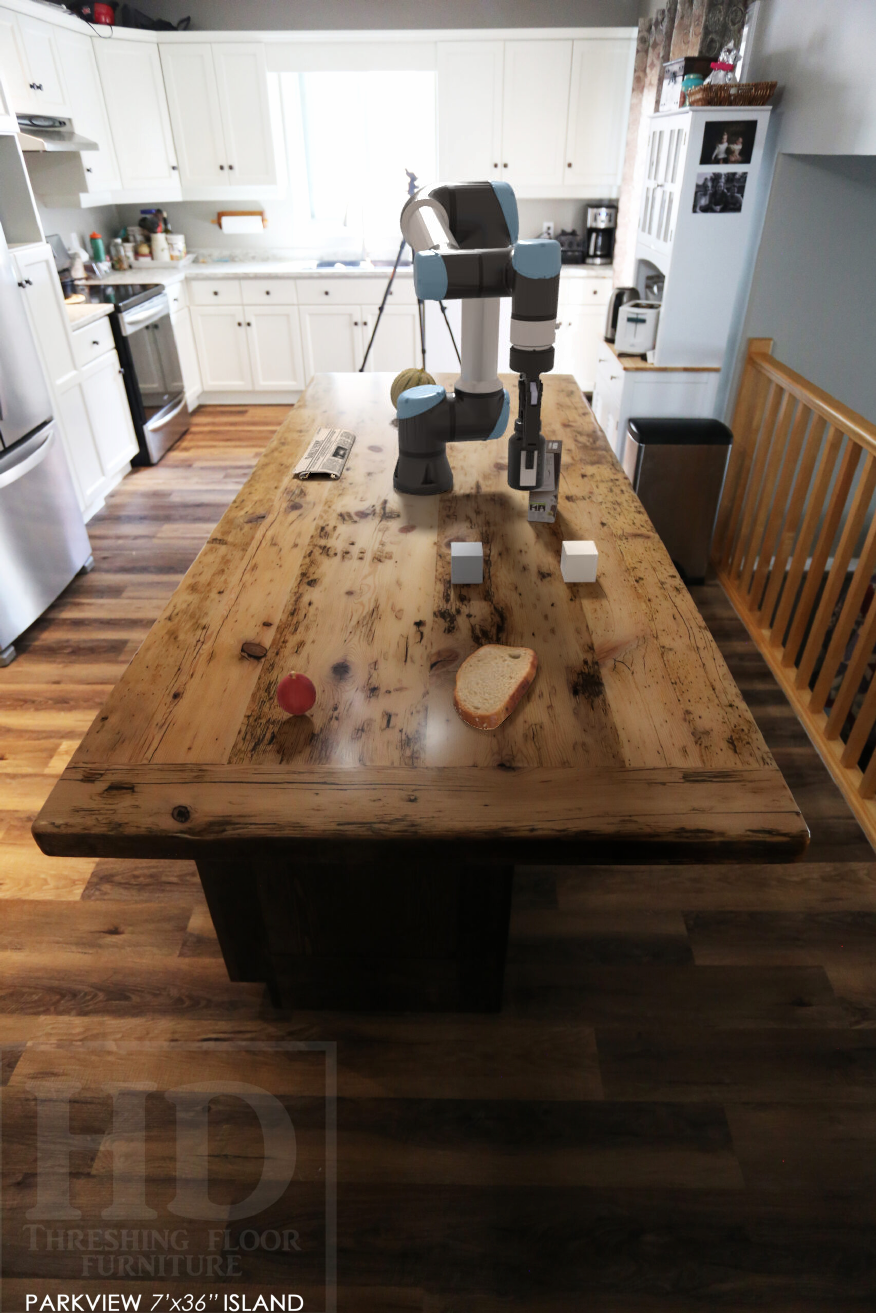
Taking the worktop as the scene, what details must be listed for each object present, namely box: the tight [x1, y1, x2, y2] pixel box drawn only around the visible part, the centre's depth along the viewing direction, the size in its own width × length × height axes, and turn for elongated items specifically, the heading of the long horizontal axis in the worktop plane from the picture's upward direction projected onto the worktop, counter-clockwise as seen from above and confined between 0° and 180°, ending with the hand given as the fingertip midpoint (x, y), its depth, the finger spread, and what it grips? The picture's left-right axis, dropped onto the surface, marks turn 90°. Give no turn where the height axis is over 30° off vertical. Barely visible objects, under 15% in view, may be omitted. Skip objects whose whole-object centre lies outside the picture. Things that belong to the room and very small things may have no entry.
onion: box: [276, 671, 317, 717], centre depth 112 cm, size 6×6×8 cm
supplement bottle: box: [506, 417, 547, 492], centre depth 137 cm, size 7×7×12 cm
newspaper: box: [291, 425, 357, 480], centre depth 209 cm, size 35×12×4 cm, turn 178°
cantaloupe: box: [389, 366, 438, 411], centre depth 235 cm, size 15×15×15 cm
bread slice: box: [452, 643, 539, 729], centre depth 119 cm, size 18×18×4 cm
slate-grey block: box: [450, 541, 484, 585], centre depth 149 cm, size 6×6×6 cm
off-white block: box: [560, 540, 599, 583], centre depth 148 cm, size 6×6×6 cm
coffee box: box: [527, 439, 563, 524], centre depth 170 cm, size 9×6×16 cm
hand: (525, 477), depth 140 cm, fingers closed on supplement bottle, 7 cm apart
